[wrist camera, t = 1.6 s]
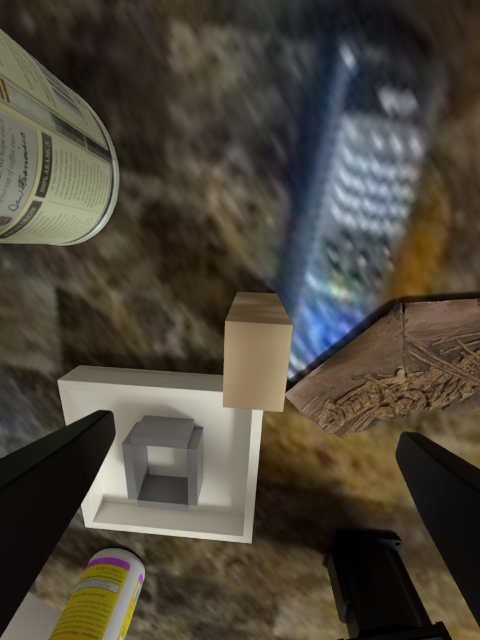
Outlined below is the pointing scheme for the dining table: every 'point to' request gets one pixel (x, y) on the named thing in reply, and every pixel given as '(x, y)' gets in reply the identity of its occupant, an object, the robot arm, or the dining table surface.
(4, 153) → the coffee can
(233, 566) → the dining table surface
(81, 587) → the supplement bottle
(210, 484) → the ceramic dish
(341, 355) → the wooden fragment
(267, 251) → the dining table surface
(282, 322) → the pine wood block
